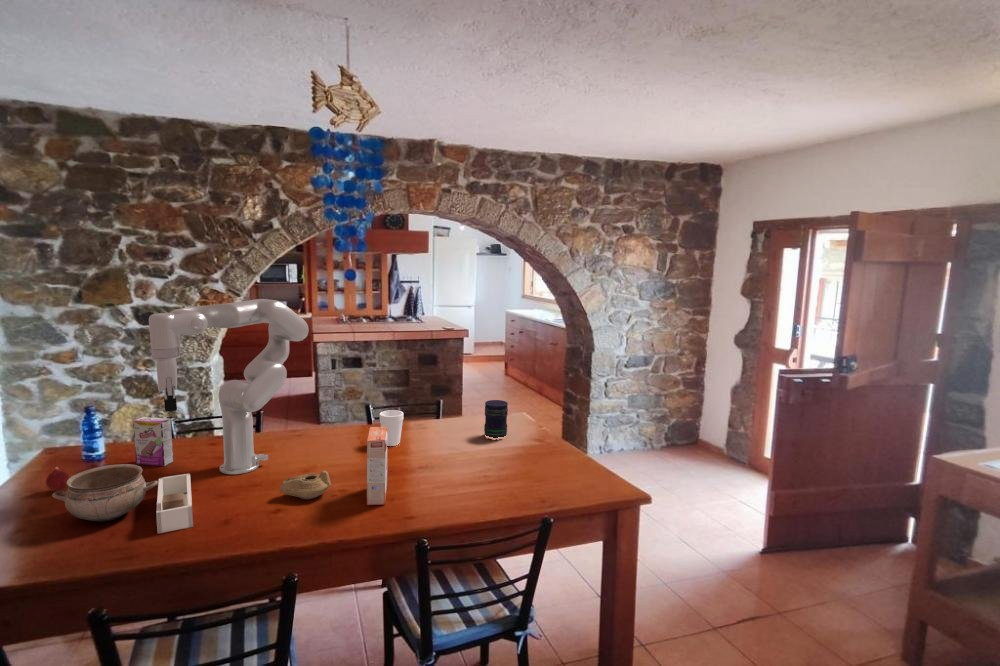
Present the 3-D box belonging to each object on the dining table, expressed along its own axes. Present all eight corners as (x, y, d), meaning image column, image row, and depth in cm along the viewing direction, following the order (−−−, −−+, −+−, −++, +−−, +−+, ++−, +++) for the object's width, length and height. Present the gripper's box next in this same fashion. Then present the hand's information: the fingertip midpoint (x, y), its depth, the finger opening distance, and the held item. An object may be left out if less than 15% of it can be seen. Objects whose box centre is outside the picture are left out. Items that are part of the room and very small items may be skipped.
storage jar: (481, 439, 231) (482, 405, 229) (486, 432, 240) (487, 399, 238) (505, 441, 229) (506, 406, 227) (508, 434, 239) (509, 400, 237)
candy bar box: (134, 465, 194) (131, 420, 192) (145, 459, 199) (142, 416, 196) (164, 467, 193) (161, 422, 190) (174, 461, 198) (171, 417, 195)
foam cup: (400, 448, 217) (400, 417, 215) (377, 448, 217) (377, 416, 215) (405, 440, 226) (405, 410, 225) (382, 440, 226) (382, 409, 225)
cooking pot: (41, 539, 143) (37, 495, 141) (67, 508, 160) (63, 468, 159) (152, 524, 152) (150, 482, 151) (165, 496, 170) (163, 459, 168)
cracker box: (386, 505, 168) (386, 439, 165) (366, 506, 167) (365, 440, 164) (388, 486, 181) (388, 425, 179) (369, 487, 180) (369, 426, 178)
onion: (75, 489, 173) (73, 465, 172) (55, 496, 168) (53, 471, 166) (62, 486, 175) (60, 462, 174) (42, 493, 169) (40, 469, 168)
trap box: (191, 491, 174) (190, 473, 173) (193, 526, 152) (192, 506, 151) (160, 496, 170) (158, 478, 169) (157, 533, 147) (156, 512, 147)
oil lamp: (279, 493, 174) (278, 469, 173) (327, 485, 181) (327, 462, 180) (282, 507, 164) (281, 482, 163) (333, 499, 171) (333, 474, 170)
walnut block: (184, 508, 156) (183, 492, 155) (184, 516, 151) (183, 499, 151) (163, 512, 153) (162, 495, 152) (163, 520, 149) (162, 502, 148)
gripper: (151, 350, 173) (156, 406, 176) (152, 358, 160) (157, 418, 163) (178, 348, 177) (183, 403, 180) (181, 356, 164) (186, 415, 167)
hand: (171, 410), depth 171 cm, fingers closed
